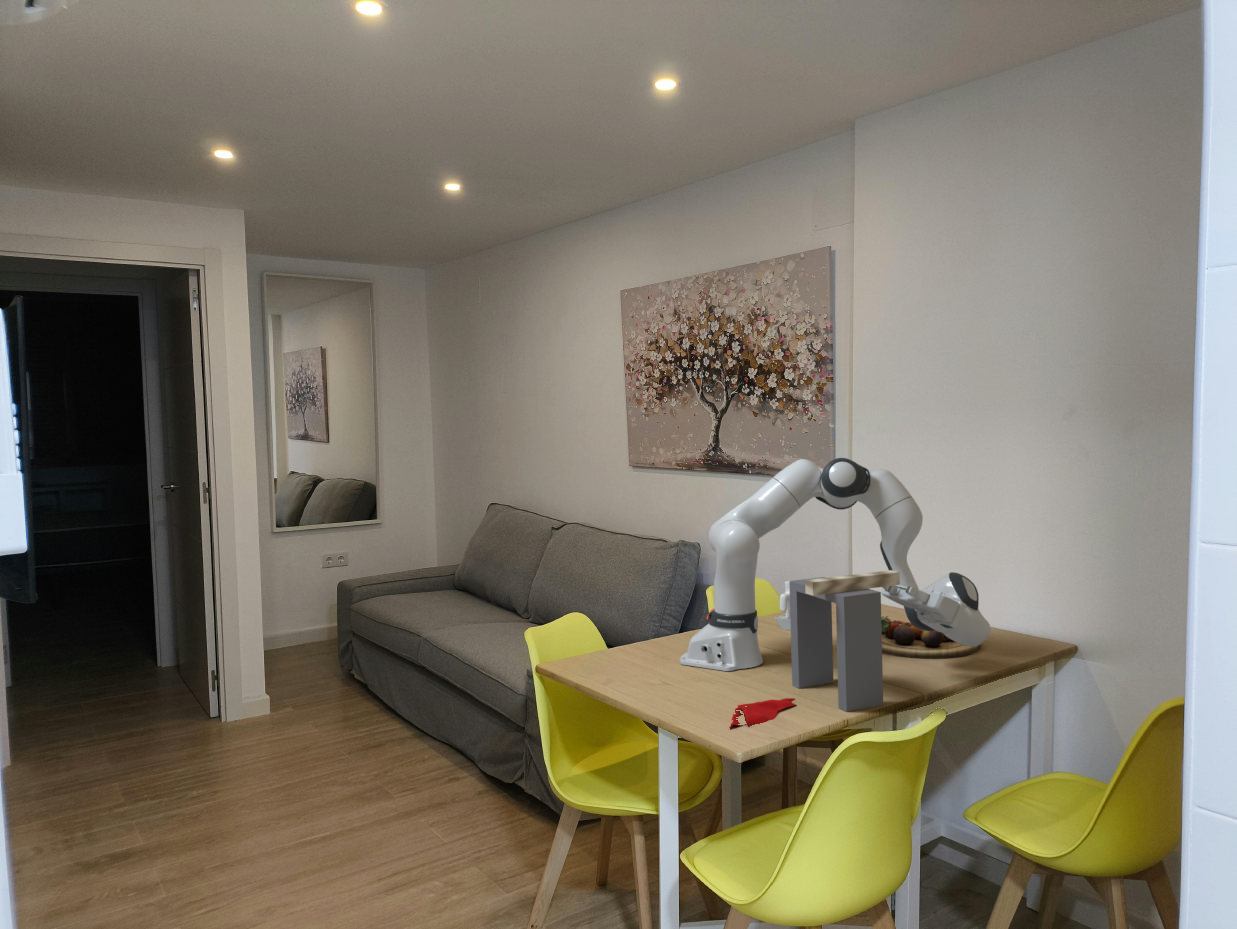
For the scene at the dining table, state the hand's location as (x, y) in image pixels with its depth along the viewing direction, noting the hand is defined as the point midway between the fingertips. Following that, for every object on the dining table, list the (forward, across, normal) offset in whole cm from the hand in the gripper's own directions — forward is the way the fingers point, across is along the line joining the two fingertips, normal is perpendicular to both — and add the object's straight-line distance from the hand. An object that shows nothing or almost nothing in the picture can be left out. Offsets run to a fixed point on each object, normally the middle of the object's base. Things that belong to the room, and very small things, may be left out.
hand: (895, 585), depth 203 cm
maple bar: (+10, 0, +6) cm, 12 cm away
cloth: (+18, -2, +41) cm, 45 cm away
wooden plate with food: (-43, -32, +5) cm, 54 cm away
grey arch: (-1, -5, +29) cm, 29 cm away
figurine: (-24, -65, +16) cm, 71 cm away
